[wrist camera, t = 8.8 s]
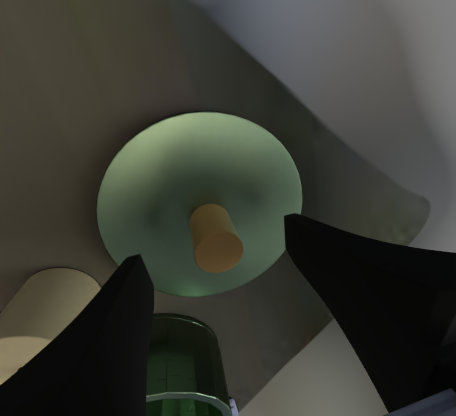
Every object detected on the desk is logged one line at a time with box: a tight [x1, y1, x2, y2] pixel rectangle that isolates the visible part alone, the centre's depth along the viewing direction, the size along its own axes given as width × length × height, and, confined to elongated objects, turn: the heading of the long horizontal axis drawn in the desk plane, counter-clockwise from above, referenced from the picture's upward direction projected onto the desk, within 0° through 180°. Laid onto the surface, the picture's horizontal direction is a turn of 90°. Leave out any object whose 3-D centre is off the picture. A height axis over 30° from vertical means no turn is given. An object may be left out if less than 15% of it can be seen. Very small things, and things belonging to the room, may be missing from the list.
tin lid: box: [96, 111, 302, 297], centre depth 12 cm, size 12×12×4 cm
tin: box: [146, 314, 232, 416], centre depth 17 cm, size 11×11×5 cm
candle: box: [0, 268, 101, 385], centre depth 12 cm, size 4×4×5 cm
